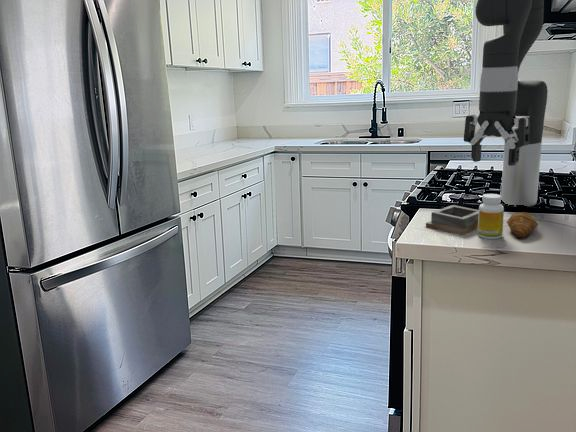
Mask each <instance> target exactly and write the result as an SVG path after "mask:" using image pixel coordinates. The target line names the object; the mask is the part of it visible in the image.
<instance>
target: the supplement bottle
mask: <svg viewBox="0 0 576 432" xmlns="http://www.w3.org/2000/svg"><path fill="white" fill-rule="evenodd" d="M503 205H504V204H502V203H501V194H497V193H485V194H482V203H481V204H480V205H479V207H478V210H479V215H478V228H477V235H478V237H479V238H482V239H484V240H498V239H501V238H502V237H503V231H504V230H503V229H504V212H505V208H504V206H503Z"/></svg>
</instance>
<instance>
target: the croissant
mask: <svg viewBox="0 0 576 432" xmlns="http://www.w3.org/2000/svg"><path fill="white" fill-rule="evenodd" d="M506 223H507V226H508V227H509V229H510V231H511V233H512V235H513V236H514V237H515V238H517V239H519V240H523V239H527V238H529V237H530V236H531V234H532V233H533V232H534V231H535V230H536V228H537V227H538V225H539V223H538V222H537V220H536V219H535V216H534V215H532V214H529V213H527V212H525V211H522V212H519V213H514V214H512V215H510V217H509V218H508V220H507V221H506Z"/></svg>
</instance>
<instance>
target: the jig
mask: <svg viewBox="0 0 576 432" xmlns="http://www.w3.org/2000/svg"><path fill="white" fill-rule="evenodd" d="M478 215H479V209H476V208H475V209H474V208H470V207H465V206H460V205H456V204H452V205H448V206H446V207H444V208H439V209H437V210H434V211H431V217H430V218H431V221H428V222H426V223H425V227H426V228H429V229H433V230H437V231H441V232H446V233H448V234H449V233H450V234H454V235H458V236H463V235H466V234H468V233H470V232H473V231H475V230H478Z"/></svg>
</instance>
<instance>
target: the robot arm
mask: <svg viewBox="0 0 576 432" xmlns="http://www.w3.org/2000/svg"><path fill="white" fill-rule="evenodd" d="M544 4H545V0H477V1H476V5H475V17H476V20H477V22H478V23H479V24H480V25H481V26H485V27H495V26H502V31H503V32H502V33H503V34H502V35H499V36H496V37H492V38H489V39H487V40H486V41H484V44H483V46H482V47H483V48H482V49H483V50H482V65H481V66H482V67H481V74H480V80H479V99H478V110H479V114H478V115H476V114H469V115H466V116H465V119H464V120H465V121H464V133H463V141H464V143H469V144H470V145H471V152H470V153H471V155H470V158H471V159H472V161H473V162H475V163H476V162H480V161H481V159H482V146H483V145H482V144H481V143H482V142H483V140H484V139H485V138H486V137H492V136H493V137H496V138H500V137H501V138H502V139H503V141H504V143H503V144H504V145H503V146H504V147H503V160H502V161H503V162H502V176H501V177H502V178H501V180H502V181H501V189H500V190H501V191H500V195H501V200H502V201H503V202H504V203H505V204H508V205H507V206H509V205H514V206H513V207H517V206H516V205H524V206H527V207H533V206H535V205H537V201H538V195H539V194H538V193H539V183H540V182H539V180H540V167H541V165H540V164H541V154H542V141H543V132H544V126H545V125H544V123H545V114H546V110H547V109H546V108H547V103H548V86H547V83H546V82H545V81H543V80H519V72H520V67H521V65H522V62H523V61H524V59H525V57H526V55H527V53H528V52H529V51H530V49H531V47H532V46H533V45H534V43H535V42H536V41H537V39H538V38H539V35H540V34H541V32H542V29H543V26H544V13H545V12H544V10H545V8H544V7H545V5H544ZM477 124H478V125H479V128H478V130H477V131H476V125H477ZM515 124H516V127H515ZM514 127H515V128H514ZM505 204H504V205H505Z"/></svg>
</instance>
